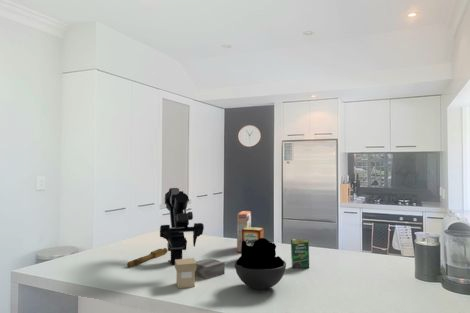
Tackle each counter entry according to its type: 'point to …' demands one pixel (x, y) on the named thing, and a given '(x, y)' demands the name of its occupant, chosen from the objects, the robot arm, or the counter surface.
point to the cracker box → (242, 226)
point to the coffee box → (300, 253)
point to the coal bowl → (260, 265)
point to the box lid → (185, 265)
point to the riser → (209, 268)
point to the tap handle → (147, 257)
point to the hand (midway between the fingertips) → (183, 246)
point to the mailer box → (186, 279)
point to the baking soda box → (252, 235)
